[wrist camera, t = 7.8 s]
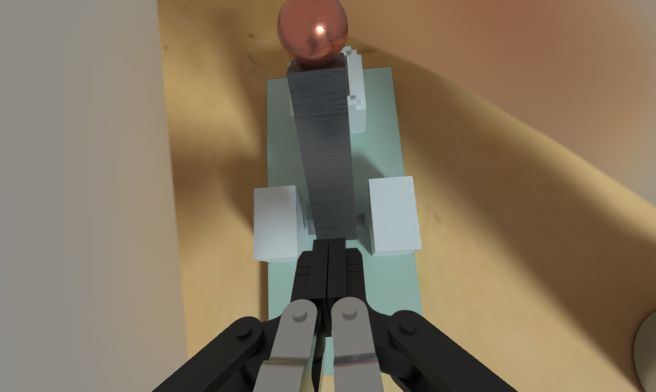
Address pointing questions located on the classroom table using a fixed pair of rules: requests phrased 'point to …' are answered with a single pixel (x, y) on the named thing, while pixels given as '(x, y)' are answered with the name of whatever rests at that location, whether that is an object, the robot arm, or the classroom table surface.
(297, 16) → the lever
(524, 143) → the classroom table surface
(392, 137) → the base
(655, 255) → the classroom table surface
